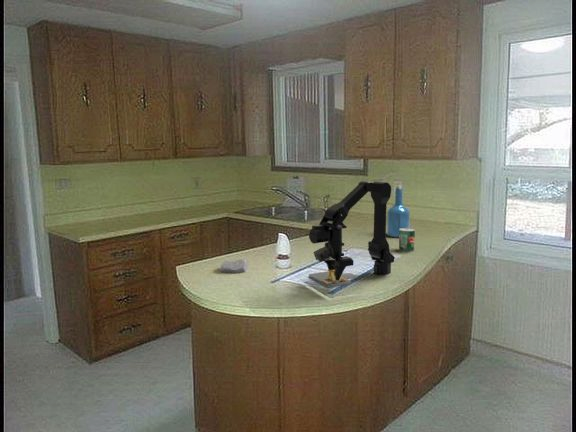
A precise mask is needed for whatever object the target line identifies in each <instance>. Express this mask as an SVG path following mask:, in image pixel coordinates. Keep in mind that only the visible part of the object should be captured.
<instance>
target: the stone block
mask: <svg viewBox="0 0 576 432" xmlns="http://www.w3.org/2000/svg"><path fill="white" fill-rule="evenodd" d="M247 271H248V261H247V260H246V259H239V260H235V261H228V260H224V261H222V263H221V265H220V273H233V274H240V273H242V274H243V273H246V272H247Z"/></svg>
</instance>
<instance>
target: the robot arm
mask: <svg viewBox="0 0 576 432" xmlns="http://www.w3.org/2000/svg"><path fill="white" fill-rule="evenodd" d="M369 192H370V197H371V199H372V201H373V204H374V205H373V207H374V208H373V209H374V211H373V238H372V239H371V241H370V240H369V241H368V243H367V245H368V246H367V248H368V249H367V251H368V254H369V255H370V258H371V260H372V261H373V262H374V264H373V275H376V276H387V275H389V274H392V272H391V271H392V263H394V262H395V260H396V259H395V258H396V257H395V255H394V254H392V253H391V252H390V245H389V242H388V240H387V238H386V236H387V235H386V234H387V203H388V201H389V200H390V198H391V195H392V184H390V183H389V182H384V181H373V182H370V181H365V180H362V181H359V183H358V184H357V186H355V187H354V188H353V190H351V191H350V192H349V193H348V194H347V195H346V196H345V197H344V198H343V199H342V200H341V201H339V202H337V203H335V204H333V205H331V206H330V207H328V208H327V209H326V210H325V211H324V215H323V216H322V218H321V221H320V222H319V224H318V225H315V224H313V225H312V226H311V228H310V231H309V233H308V238H309V241H310V242H311V243H312V244H313V245H314V244H320V243H324V246H323V247H321V248H318V249H317V250H314V251H313V255H314V258H315V260H316V261H317V262H319V263H320V262H323V263H325V264H326V266H327V271H328V270H330V269H335V275H336V280H339V279H340V277H341V275H342V274H344V271H345V269H346V267H350V266H351V267H353V266H354V259H353V258H352V257H349V256H345V253H344V252H343V247H344V246H345V243H344V242H343V229H347V228H348V227H347V225H345V223H344V221H346V219H347V217H348V216H349V211H350V210H351V209H352V208H353V207H354V206H355V205H356V204H357V203H358V202H359V201H361V199H362V198H363V197H364V196H366V195H367V193H369Z"/></svg>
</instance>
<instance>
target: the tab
mask: <svg viewBox="0 0 576 432" xmlns="http://www.w3.org/2000/svg"><path fill="white" fill-rule="evenodd" d="M342 277H343V278H345V279H347V280H351V279H357V278H359V276H358V275H355V274H353V273H351V272H346V273H342Z"/></svg>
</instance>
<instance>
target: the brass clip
mask: <svg viewBox="0 0 576 432" xmlns="http://www.w3.org/2000/svg"><path fill="white" fill-rule="evenodd" d="M327 271H328V280H330V281H329V282H330V283H331V282H332V283H339V282H341V281H342V275H341V277H340V279H339V280H336V275H335V269H330V270H328V269H327Z"/></svg>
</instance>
